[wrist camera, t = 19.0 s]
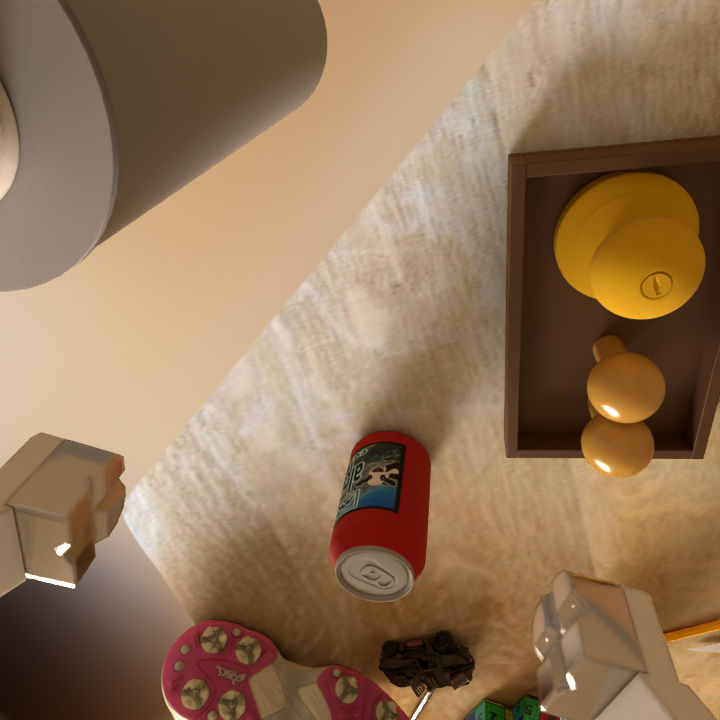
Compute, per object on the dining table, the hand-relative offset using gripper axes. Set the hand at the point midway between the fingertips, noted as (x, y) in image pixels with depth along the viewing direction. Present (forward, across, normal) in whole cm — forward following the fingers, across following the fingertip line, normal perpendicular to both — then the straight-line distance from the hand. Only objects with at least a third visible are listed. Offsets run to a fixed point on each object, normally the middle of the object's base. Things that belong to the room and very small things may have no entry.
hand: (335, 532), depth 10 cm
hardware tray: (+29, -15, +6) cm, 33 cm away
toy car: (+29, -14, +50) cm, 60 cm away
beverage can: (+29, -4, +24) cm, 38 cm away
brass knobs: (+28, -16, +11) cm, 35 cm away
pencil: (+29, -36, +36) cm, 59 cm away
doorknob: (+25, -10, -2) cm, 27 cm away
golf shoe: (+22, -4, +55) cm, 60 cm away
